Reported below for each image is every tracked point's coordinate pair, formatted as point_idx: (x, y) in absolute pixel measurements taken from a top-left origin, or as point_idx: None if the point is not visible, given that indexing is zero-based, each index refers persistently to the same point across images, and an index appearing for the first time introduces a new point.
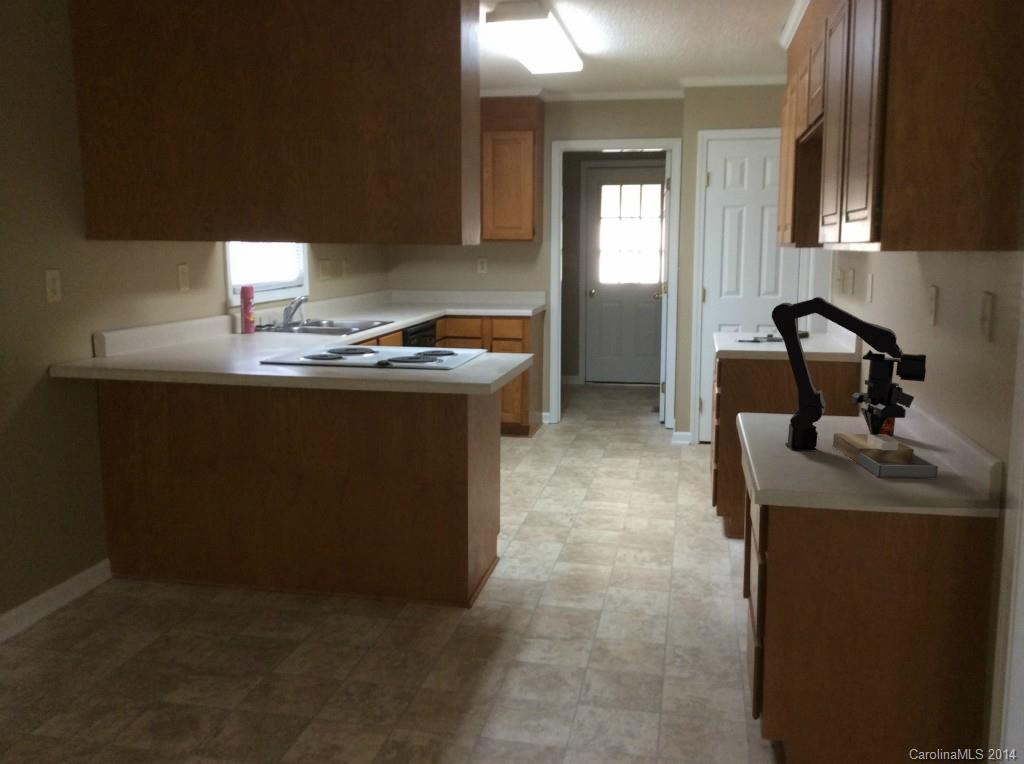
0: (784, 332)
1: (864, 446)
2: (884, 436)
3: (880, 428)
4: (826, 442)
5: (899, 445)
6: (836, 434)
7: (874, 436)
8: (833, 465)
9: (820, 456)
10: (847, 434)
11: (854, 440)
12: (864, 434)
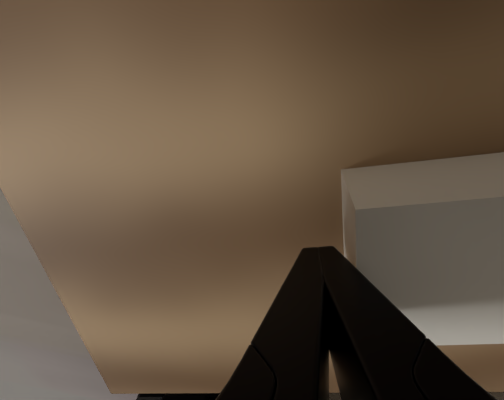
0: None
1: (491, 346)
2: (450, 224)
3: (404, 320)
4: (35, 312)
5: (489, 8)
6: (142, 391)
7: (445, 322)
8: (497, 394)
9: (334, 396)
10: (111, 339)
11: None
12: (44, 229)
